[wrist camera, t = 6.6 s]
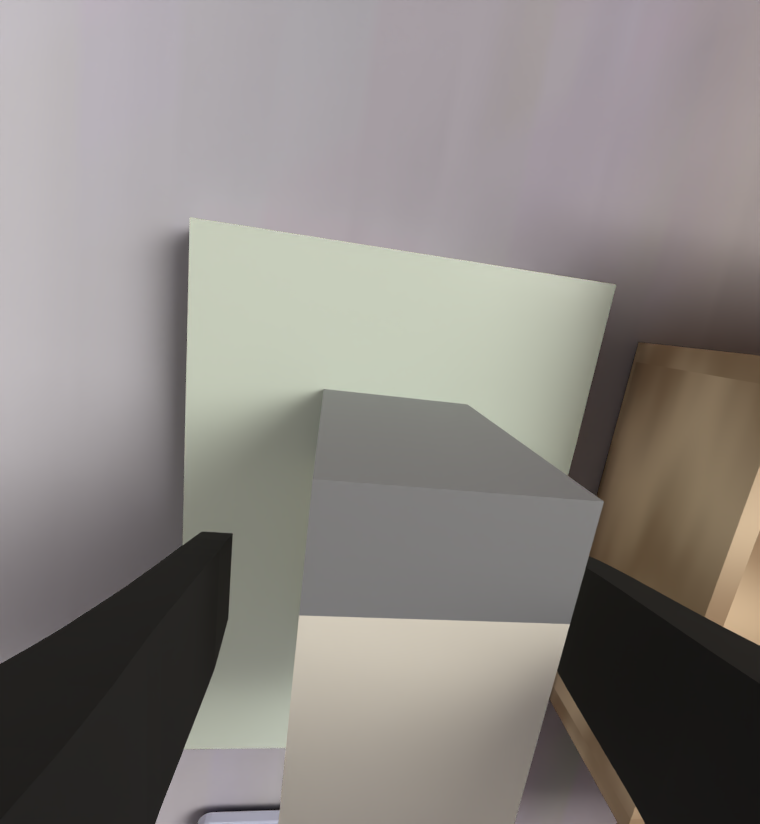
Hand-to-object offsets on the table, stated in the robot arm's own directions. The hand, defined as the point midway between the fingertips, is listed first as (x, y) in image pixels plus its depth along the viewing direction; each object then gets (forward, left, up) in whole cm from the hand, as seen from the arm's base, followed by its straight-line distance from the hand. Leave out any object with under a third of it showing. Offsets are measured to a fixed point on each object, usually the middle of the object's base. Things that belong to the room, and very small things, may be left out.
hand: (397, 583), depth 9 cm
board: (-1, 0, -4) cm, 4 cm away
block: (0, 0, -3) cm, 3 cm away
